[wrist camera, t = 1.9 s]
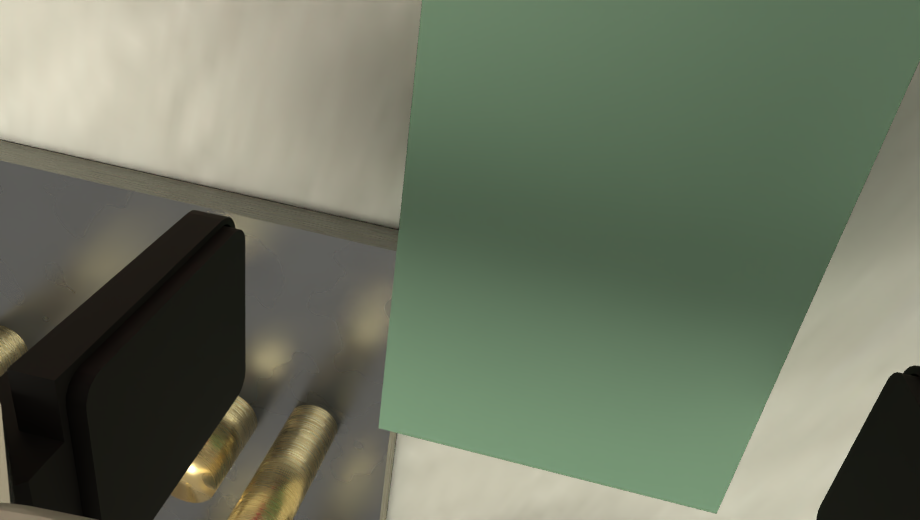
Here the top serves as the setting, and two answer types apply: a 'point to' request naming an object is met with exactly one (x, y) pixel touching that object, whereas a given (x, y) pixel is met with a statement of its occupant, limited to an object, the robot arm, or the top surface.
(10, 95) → the top surface
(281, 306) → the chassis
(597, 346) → the green boxy piece
